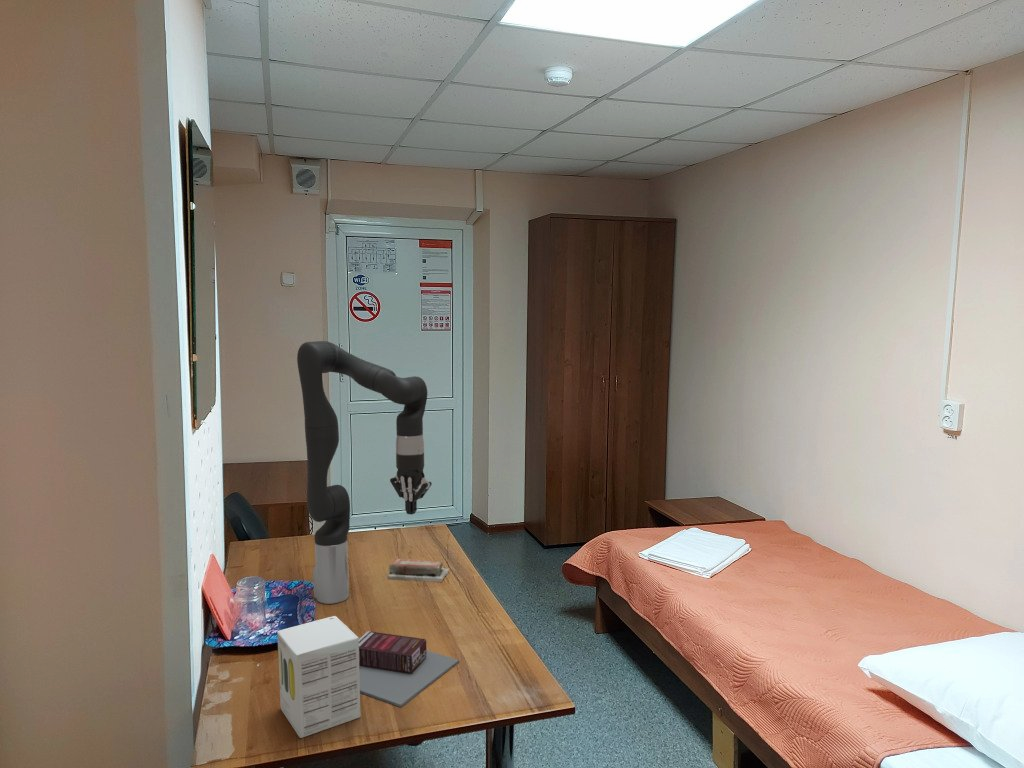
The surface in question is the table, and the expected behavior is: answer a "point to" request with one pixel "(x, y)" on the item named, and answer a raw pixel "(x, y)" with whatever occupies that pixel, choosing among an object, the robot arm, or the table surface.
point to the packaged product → (417, 570)
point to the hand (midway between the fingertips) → (411, 513)
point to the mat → (403, 679)
